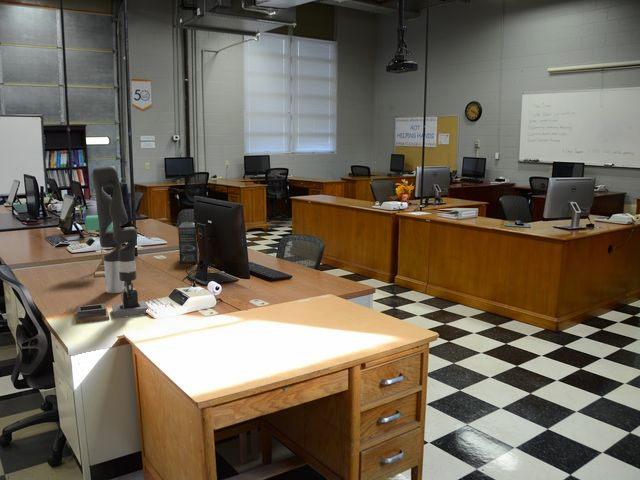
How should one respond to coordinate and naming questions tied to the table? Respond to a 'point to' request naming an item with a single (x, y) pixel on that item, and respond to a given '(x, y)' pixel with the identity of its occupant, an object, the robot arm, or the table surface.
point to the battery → (125, 299)
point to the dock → (129, 310)
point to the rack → (91, 313)
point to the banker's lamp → (93, 224)
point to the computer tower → (188, 243)
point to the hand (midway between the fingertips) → (129, 303)
